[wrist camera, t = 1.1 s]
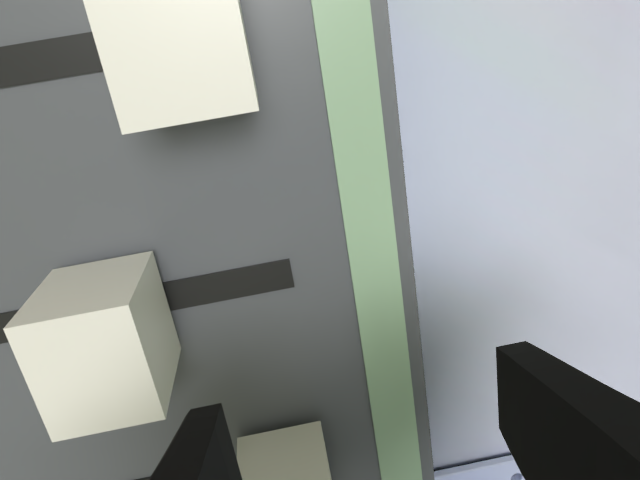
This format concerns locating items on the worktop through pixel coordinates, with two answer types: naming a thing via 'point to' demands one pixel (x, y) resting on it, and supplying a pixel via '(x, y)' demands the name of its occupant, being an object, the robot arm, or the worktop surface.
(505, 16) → the worktop surface
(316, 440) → the inner switch
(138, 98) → the outer switch
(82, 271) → the middle switch
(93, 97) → the switch panel
